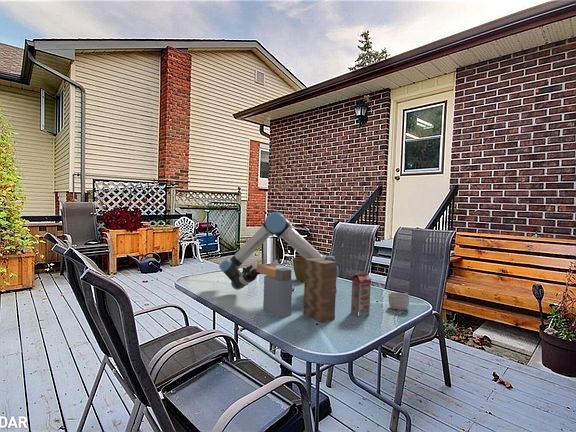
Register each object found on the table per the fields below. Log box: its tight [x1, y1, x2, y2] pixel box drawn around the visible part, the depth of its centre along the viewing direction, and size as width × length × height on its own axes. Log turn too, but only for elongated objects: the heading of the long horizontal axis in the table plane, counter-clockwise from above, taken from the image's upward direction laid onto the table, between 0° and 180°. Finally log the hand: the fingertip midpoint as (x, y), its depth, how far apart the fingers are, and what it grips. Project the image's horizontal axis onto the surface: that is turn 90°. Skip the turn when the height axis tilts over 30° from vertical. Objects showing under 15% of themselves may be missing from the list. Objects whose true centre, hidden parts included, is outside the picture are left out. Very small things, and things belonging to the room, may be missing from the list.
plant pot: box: [292, 256, 305, 283], centre depth 238 cm, size 15×15×16 cm
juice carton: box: [350, 271, 372, 317], centre depth 169 cm, size 7×7×22 cm
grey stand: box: [262, 275, 293, 319], centre depth 167 cm, size 13×8×18 cm, turn 38°
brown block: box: [256, 263, 292, 281], centre depth 171 cm, size 24×6×5 cm, turn 38°
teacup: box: [387, 291, 410, 311], centre depth 181 cm, size 14×11×8 cm
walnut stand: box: [302, 258, 338, 324], centre depth 163 cm, size 14×8×28 cm, turn 38°
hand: (266, 263), depth 175 cm, fingers open, 13 cm apart
